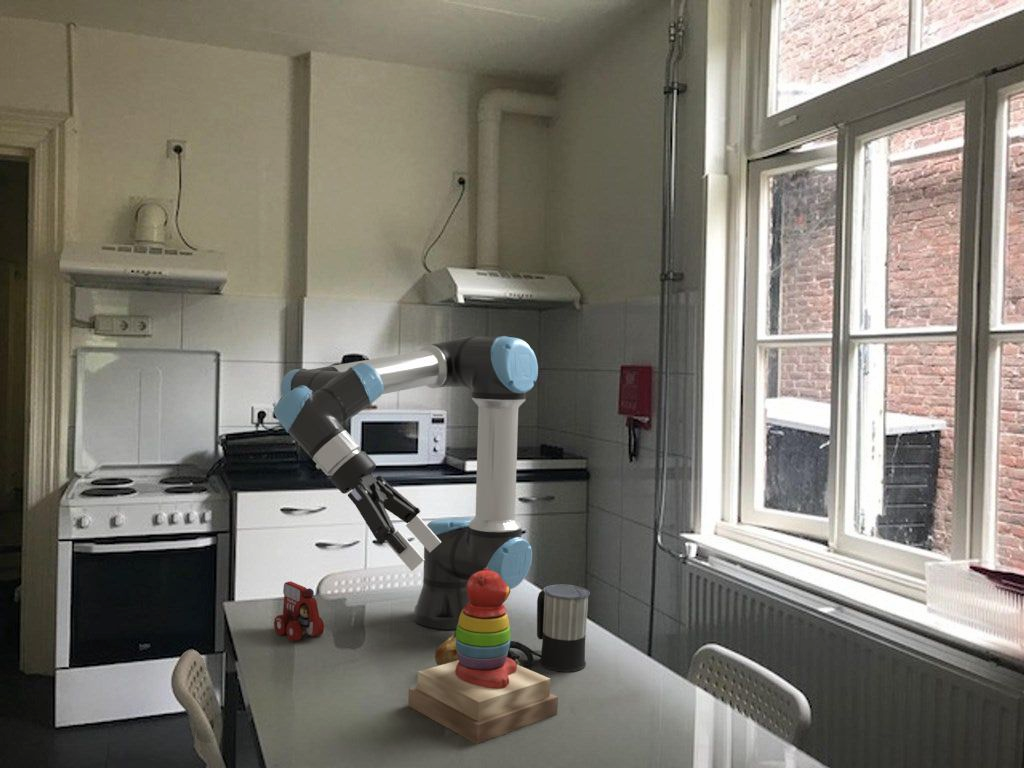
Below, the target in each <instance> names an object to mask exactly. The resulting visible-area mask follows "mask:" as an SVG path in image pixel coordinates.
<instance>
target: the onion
mask: <svg viewBox="0 0 1024 768" xmlns="http://www.w3.org/2000/svg"><path fill="white" fill-rule="evenodd" d="M451 634H452V635H451V636H450V637H448V638H447V639H446V640H445V641H443V642H442V643H441V644H440V645H439V646H438V647H437V649H436V650H435V651H434V652H435V653H434V662H435V664H436V665H437V666H440V665H443V664H447V663H450V662H454V661H458V660H459V659H458V654H457V648H456V631H455V632H454V633H451Z"/></svg>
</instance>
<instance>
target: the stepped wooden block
mask: <svg viewBox="0 0 1024 768" xmlns="http://www.w3.org/2000/svg"><path fill="white" fill-rule="evenodd" d="M458 662H459V660H458V661H454V662H450V663H447V664H443V665H440V666H438V665H437V666H433V667H429V668H426V669H422V670H419V671H418V670H417V680H416V681H417V682H416V686H412V687H409V688H408V701H407V703H408V704H407V706H408V707H410V708H411V709H413V710H415V711H416V710H417V712H418V713H420V714H422V715H424V716H425V717H427V718H429V719H431V720H433V721H434V722H436V723H438V724H440V725H442V726H444V727H445V728H447V729H449V730H450V731H452V732H453V733H456V734H458V735H459V736H461V737H463V738H464V739H466V740H469V741H471V742H472V743H474V744H476V745H478V744H479V745H480V744H481V743H484V742H486V741H490V740H492V739H495V738H498V737H500V736H503V735H505V734H508V733H511V732H514V731H517V730H519V729H521V728H524V727H528V726H530V725H532V724H535V723H538V722H540V721H543V720H546V719H548V718H551V717H553V716H556V715H558V705H559V696H557V695H555V694H553V693H551V678H550V677H547V676H545V675H543V674H540V673H538V672H536V671H534V670H530V669H529V668H524V667H522V666H519V665H517V669H516V671H515V672H514V673H511V674H509V675H508V678H509V684H508V685H507V686H505V687H501V688H492V687H485V686H479V685H475V684H472V683H469V682H466V681H464V680H462V679H460V678H459V677H457V675H456V673H455V670H456V666H457V664H458Z"/></svg>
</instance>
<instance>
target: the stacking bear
mask: <svg viewBox="0 0 1024 768" xmlns="http://www.w3.org/2000/svg"><path fill="white" fill-rule="evenodd" d="M510 594H511V589H510V588H509V587H508V586H507V584H506V583H505V582H504V581H503V580H502V578H501V576H500V575H499V574H498V573H496V572H494V571H489V568H488V567H486V568H484V569H483V571H479V572H476V573H474V574H473V575H472V576H471V577H470V578H469V580H468V582H467V596H468V599H469V603H467V604H466V605H465V607H464V609H463V610H462V611H461V613H460V617H459V621H458V625H457V629H455V630H456V631H455V632H456V648H457V654H458V659H459V662H458V664H457V666H456V670H455V673H456V675H457V677H459V678H460V679H462V680H464V681H466V682H469V683H472V684H475V685H479V686H485V687H492V688H501V687H505V686H507V685H508V684H509V678H508V675H509V674H511V673H514V672H515V671H516V669H517V664H516V662H515V661H514V660H512V659H510V658H507V655H508V650H509V646H510V641H511V638H512V637H511V635H512V634H511V626H510V620H509V615H508V611H507V608H506V606H505V605H504V603H505V602H506V601H507V600H508V598H509V596H510Z"/></svg>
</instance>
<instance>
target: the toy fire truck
mask: <svg viewBox="0 0 1024 768" xmlns="http://www.w3.org/2000/svg"><path fill="white" fill-rule="evenodd" d="M282 594H283V608H282V614H279V615H277V616H276V617H275V618H274V621H273V626H274V630H275V632H276V634H277V635H279V636H284V635H286V636H287V639H288V640H289V641H290V642H292V641H293V642H292V643H294V641H295V642H297V641H298V642H299V641H300V640H301V638H302V636H305V635H308V636H310V637H319V636H322V635H323V633H324V631H325V624H324V621H323V619H322V617H320V614H319V613H320V612H319V608H318V601H317V600H316V598H315V597H314V595H315V593H314V590H313V589H312V588H307V587H305V586H303V585H300V584H298V583H296V582H293V581H291V580H290V581H286V582H284V584H283V593H282Z"/></svg>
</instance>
